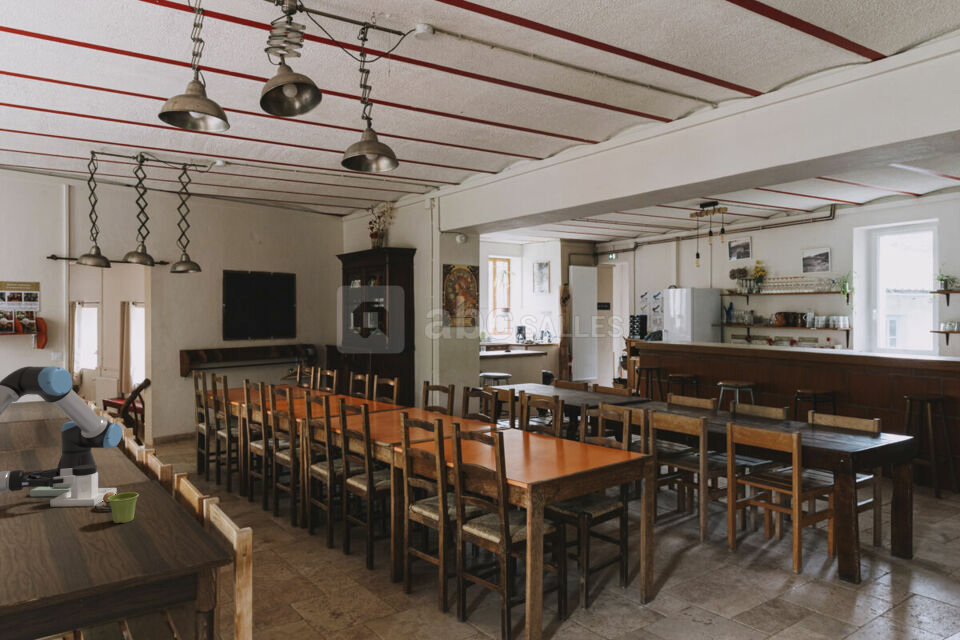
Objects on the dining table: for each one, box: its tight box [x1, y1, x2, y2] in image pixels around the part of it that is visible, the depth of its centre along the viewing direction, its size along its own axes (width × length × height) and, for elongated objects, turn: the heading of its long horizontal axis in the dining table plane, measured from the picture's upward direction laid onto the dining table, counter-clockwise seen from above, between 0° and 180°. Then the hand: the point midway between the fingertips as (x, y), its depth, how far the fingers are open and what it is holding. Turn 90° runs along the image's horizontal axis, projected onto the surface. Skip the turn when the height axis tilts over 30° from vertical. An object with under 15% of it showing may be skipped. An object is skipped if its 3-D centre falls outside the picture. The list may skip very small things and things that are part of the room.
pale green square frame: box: [29, 483, 71, 497], centre depth 255 cm, size 14×15×2 cm
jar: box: [71, 464, 99, 499], centre depth 243 cm, size 9×8×12 cm
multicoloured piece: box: [94, 491, 114, 513], centre depth 234 cm, size 12×12×8 cm
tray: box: [50, 487, 118, 507], centre depth 243 cm, size 16×16×2 cm
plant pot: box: [108, 492, 140, 524], centre depth 219 cm, size 9×9×9 cm
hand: (77, 475), depth 242 cm, fingers open, 13 cm apart
